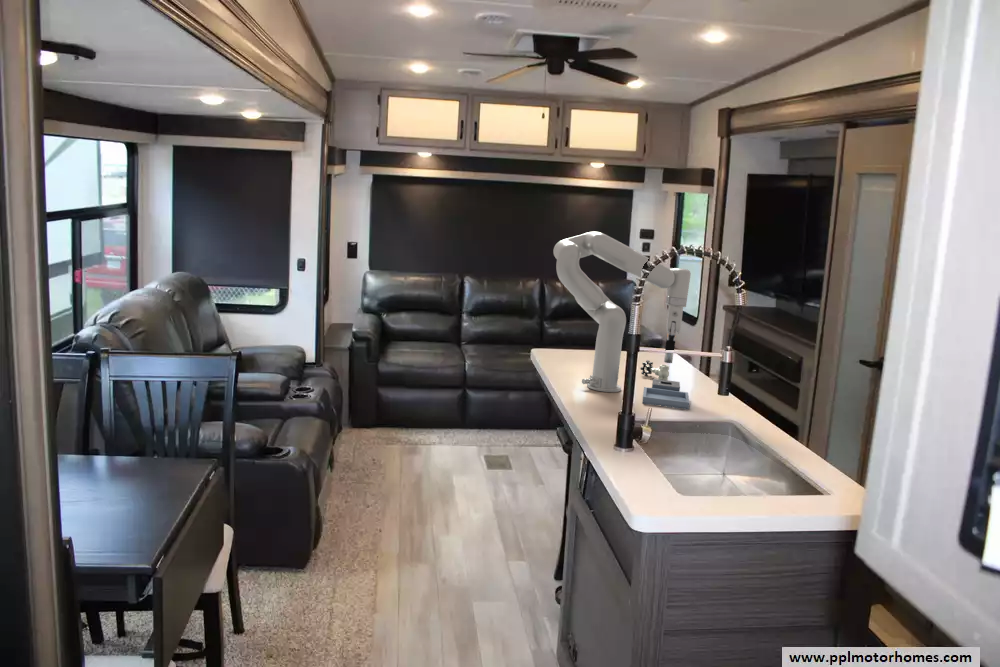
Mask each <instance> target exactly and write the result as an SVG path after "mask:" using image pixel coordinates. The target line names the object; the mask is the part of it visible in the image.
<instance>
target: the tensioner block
mask: <svg viewBox="0 0 1000 667" xmlns="http://www.w3.org/2000/svg"><path fill="white" fill-rule="evenodd" d="M680 382H681V381H675V380H673V381H672V380H669V379H668V380H660V379H658V378H653V379H652V385H651V388H656V389H664V390H672V391H680V390H681V384H680ZM680 392H681V391H680Z"/></svg>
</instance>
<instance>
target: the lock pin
mask: <svg viewBox="0 0 1000 667" xmlns="http://www.w3.org/2000/svg"><path fill="white" fill-rule="evenodd" d="M676 338H677V335H676V336H675V339H676ZM666 339H668V333H667V335H666ZM673 360H674V353H665V352H664V360H663V363H666V364H673Z"/></svg>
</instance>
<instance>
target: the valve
mask: <svg viewBox="0 0 1000 667" xmlns="http://www.w3.org/2000/svg"><path fill="white" fill-rule="evenodd" d="M653 364H654V362H652V361H650V360H648V359H646V361H645V362H644V361H643V362H642V365H643V366H641V367H640V368H639V369H640V370H641V375H644V376H645V377H648V376H649V375H652V373H653V374H654V375H655V376H658V378H657V379H660V380H668V381H669V379H668V377H669V376H670V371H669V370H670V365H669V364H660V365H659V367H657V368H655V367H654V366H653ZM645 370H646V371H645Z"/></svg>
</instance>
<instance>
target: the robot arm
mask: <svg viewBox="0 0 1000 667" xmlns="http://www.w3.org/2000/svg"><path fill="white" fill-rule="evenodd" d="M552 253H553V256H554V257H555V259H556V264H555V265H556V267H555V268H556V274H557V277H558V279H559V281H560V283H561V284H562V285H563V286H564V287H565V288H566V289H567V291H569V293H570V294H571V295H572V296H573V297H574V299H575V301H576V303H577V304H578V305H579V306H580V307H581V308H582V309H583V310H584V311H585V312H586V313H587V314H588V315H589V316H590V317H591V318H592V319H593V320H594V321H595V322H596V323H597V324H599V325H598V330H597V334H596V339H595V340H596V341H595V348H594V355H593V356H594V359H593V367H592V374H591V375H590V376H589V377H588V378H582V379H581V384H583V385H586V386H587V388H589V389H590V390H594V391H597V392H604V393H618V392H620V391H621V390H622V386H620V384H618V382H619V380H618V379H619V373H620V363H621V355H622V347H623V346H622V344H623V340H624V338H623V337H624V332H625V330H626V326H627V325H626V324H627V317H626V313H625V311H624V310H623V308H622V307H620V306H619V305H617V304H615V303H614V302H613V301H612V300H610V298H609V297H608V296H607V295H606V294H605V292H604V291H603V290H602V288H601V287H600V286H599V285H597V284H596V283H595V282H594V281H593V280H592V279H591V278H589V277H588V275H587V274H586V273H585V272H584V271H583V270H582V269H581V266H580V259H582V258H586V257H589V256H592V255H593V256H595V257H597V258H598V259H600V260H603V261H604V262H605V263H609V264H610V265H612V266H614V267H616V268H617V269H620V270H621V271H624V272H626V273H628V274H631V275H634V276H636V277H639V278H641V270H642V268H643V266H644V264H645V263H646V262H647V261H648V259H649V258H650V257H647V256H646V255H644V254H642V253H641V252H639V251H637V250H635V249H634V248H632V247H630V246H628V245H627V244H624V243H622V242H620V241H619V240H617V239H615V238H613V237H611V236H609V235H608V234H605V233H603V232H600V231H594V230H593V231H589V232H585V233H582V234H579V235H575V236H571V237H568V238H564V239H562V240H559V241H558V242H557V243H556V244H555V245H554V247H553V252H552ZM690 281H691V271H690V269H686V268H681V267H674V268H673V267H667V266H665V265H663V264H661V263H659V264H658V265H657V266H656V267H655V268H654V269H653V270H652V271H651V273H650V274H649V276H648V278H647V280H646V282H649V283H650V284H651V285H653V286H654V287H658V288H660V289H667V292H666V299H665V305H666V306H668V310H667V316H666V332H667V334H668V339H667V338H666V341H665V350H664V351H666V350H674V351H675V347H676V338H675V336H676V337H677V334H680V333H681V328H682V321H683V312H684V308H686V307H687V302H688V296H689V288H690V283H691V282H690Z"/></svg>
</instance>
